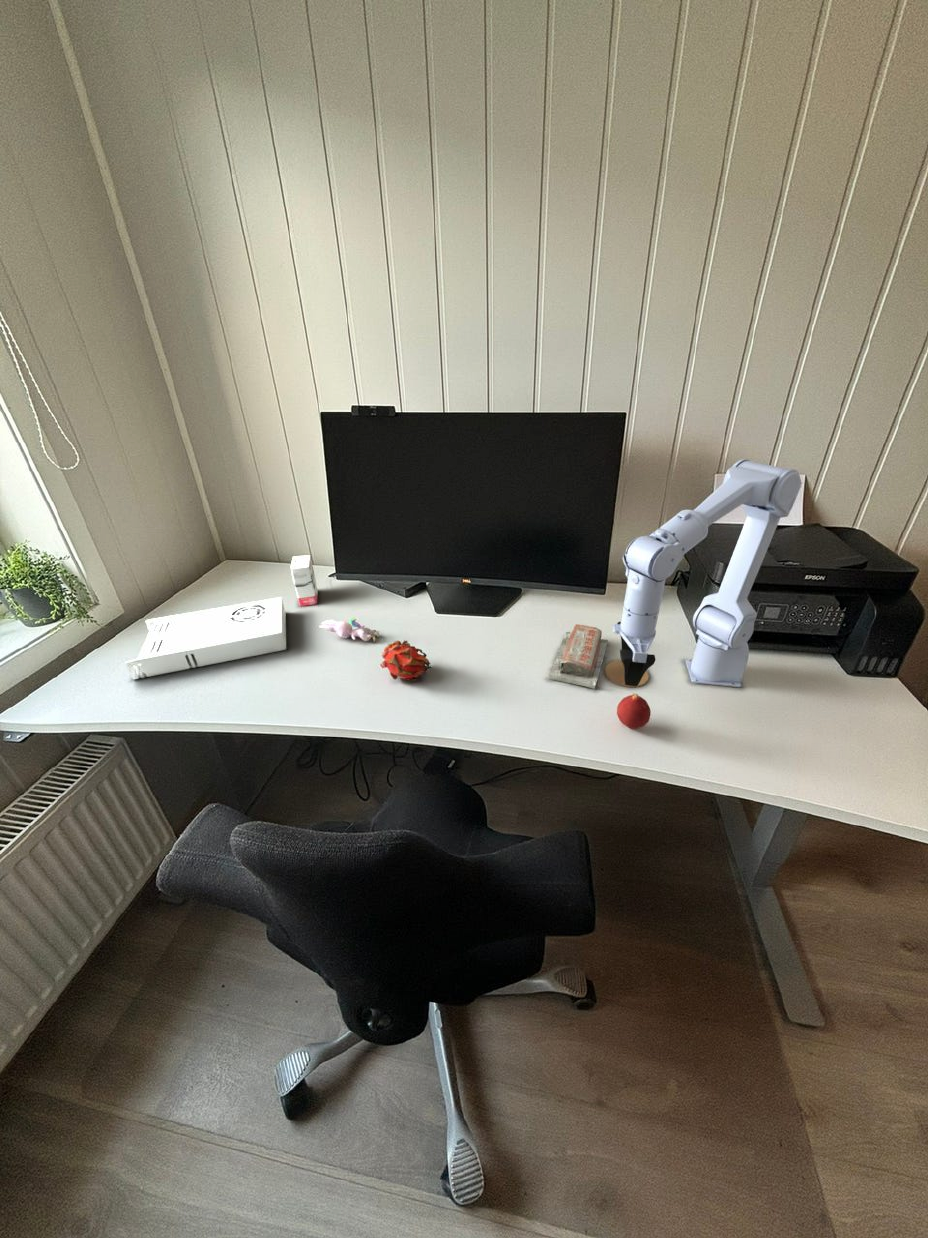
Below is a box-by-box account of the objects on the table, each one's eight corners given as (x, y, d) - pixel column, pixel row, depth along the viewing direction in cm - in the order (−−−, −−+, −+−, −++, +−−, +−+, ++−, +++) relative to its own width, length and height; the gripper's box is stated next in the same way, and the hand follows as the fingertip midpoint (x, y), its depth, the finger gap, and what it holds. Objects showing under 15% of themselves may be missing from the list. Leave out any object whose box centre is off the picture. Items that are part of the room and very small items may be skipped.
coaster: (646, 663, 107) (646, 662, 106) (650, 689, 99) (651, 688, 99) (604, 659, 108) (604, 658, 108) (605, 684, 101) (605, 683, 101)
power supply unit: (152, 636, 123) (144, 620, 120) (285, 612, 131) (281, 596, 129) (133, 680, 108) (124, 662, 105) (286, 649, 116) (281, 632, 113)
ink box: (317, 604, 135) (309, 566, 129) (299, 606, 134) (289, 568, 128) (318, 590, 142) (310, 553, 136) (301, 593, 141) (292, 556, 135)
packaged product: (567, 619, 114) (610, 627, 111) (565, 636, 117) (607, 644, 114) (549, 662, 100) (597, 671, 97) (547, 680, 103) (595, 690, 99)
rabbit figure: (381, 637, 122) (326, 624, 123) (382, 617, 119) (325, 604, 120) (372, 651, 117) (314, 637, 118) (372, 631, 113) (313, 617, 115)
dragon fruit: (384, 670, 110) (429, 689, 107) (366, 671, 102) (415, 691, 98) (396, 635, 110) (442, 653, 106) (379, 633, 102) (429, 652, 98)
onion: (640, 715, 93) (647, 683, 88) (651, 737, 88) (659, 704, 84) (610, 717, 93) (616, 684, 88) (620, 739, 88) (626, 705, 83)
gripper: (614, 585, 88) (605, 647, 95) (619, 627, 76) (608, 694, 83) (655, 588, 86) (643, 650, 93) (666, 631, 74) (651, 699, 81)
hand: (629, 671), depth 88 cm, fingers open, 7 cm apart
